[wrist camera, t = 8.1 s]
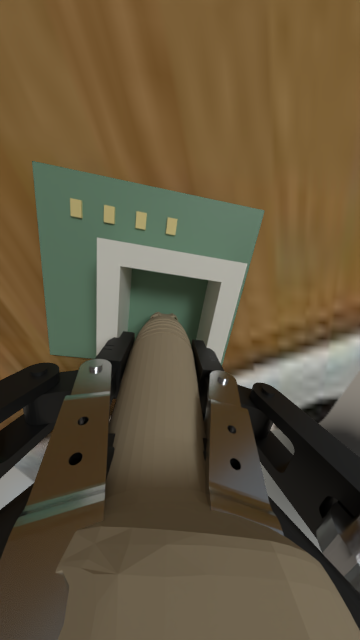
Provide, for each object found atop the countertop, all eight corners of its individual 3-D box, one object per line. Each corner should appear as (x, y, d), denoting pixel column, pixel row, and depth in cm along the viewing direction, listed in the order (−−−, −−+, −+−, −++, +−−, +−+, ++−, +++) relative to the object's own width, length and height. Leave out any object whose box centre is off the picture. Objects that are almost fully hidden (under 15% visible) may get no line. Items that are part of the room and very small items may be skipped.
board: (41, 167, 13) (30, 159, 12) (258, 213, 15) (265, 209, 14) (56, 349, 19) (48, 355, 17) (217, 366, 21) (220, 372, 19)
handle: (205, 334, 16) (426, 781, 2) (145, 360, 17) (34, 857, 3) (184, 288, 15) (492, 821, 1) (118, 318, 15) (-409, 973, 1)
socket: (115, 242, 15) (96, 237, 11) (228, 262, 16) (247, 263, 12) (110, 364, 18) (96, 391, 15) (202, 373, 20) (210, 400, 16)
